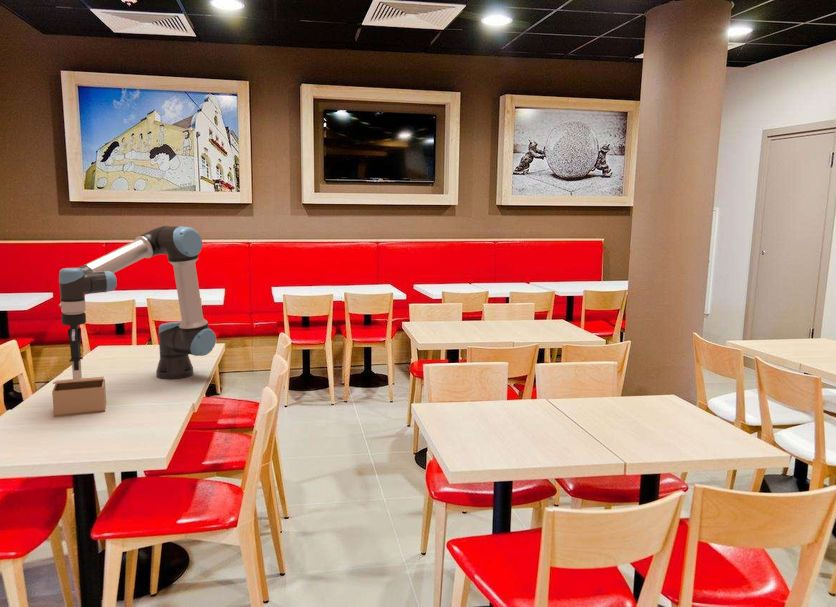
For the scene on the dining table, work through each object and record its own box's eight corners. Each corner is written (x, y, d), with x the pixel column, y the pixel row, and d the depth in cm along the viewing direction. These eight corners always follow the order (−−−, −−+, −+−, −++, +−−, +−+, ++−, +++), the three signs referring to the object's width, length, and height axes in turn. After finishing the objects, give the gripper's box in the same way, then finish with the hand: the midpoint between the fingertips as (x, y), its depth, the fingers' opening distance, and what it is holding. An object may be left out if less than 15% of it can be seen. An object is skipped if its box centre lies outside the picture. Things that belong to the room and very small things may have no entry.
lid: (103, 377, 246) (103, 376, 246) (102, 379, 235) (102, 378, 235) (56, 381, 240) (56, 380, 240) (52, 383, 229) (52, 382, 229)
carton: (106, 402, 247) (104, 378, 246) (105, 411, 237) (103, 387, 235) (57, 406, 241) (55, 382, 240) (54, 416, 230) (52, 391, 229)
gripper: (63, 310, 236) (67, 374, 240) (59, 316, 224) (63, 384, 228) (86, 309, 239) (90, 373, 242) (84, 315, 227) (87, 382, 231)
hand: (77, 378), depth 235 cm, fingers closed
